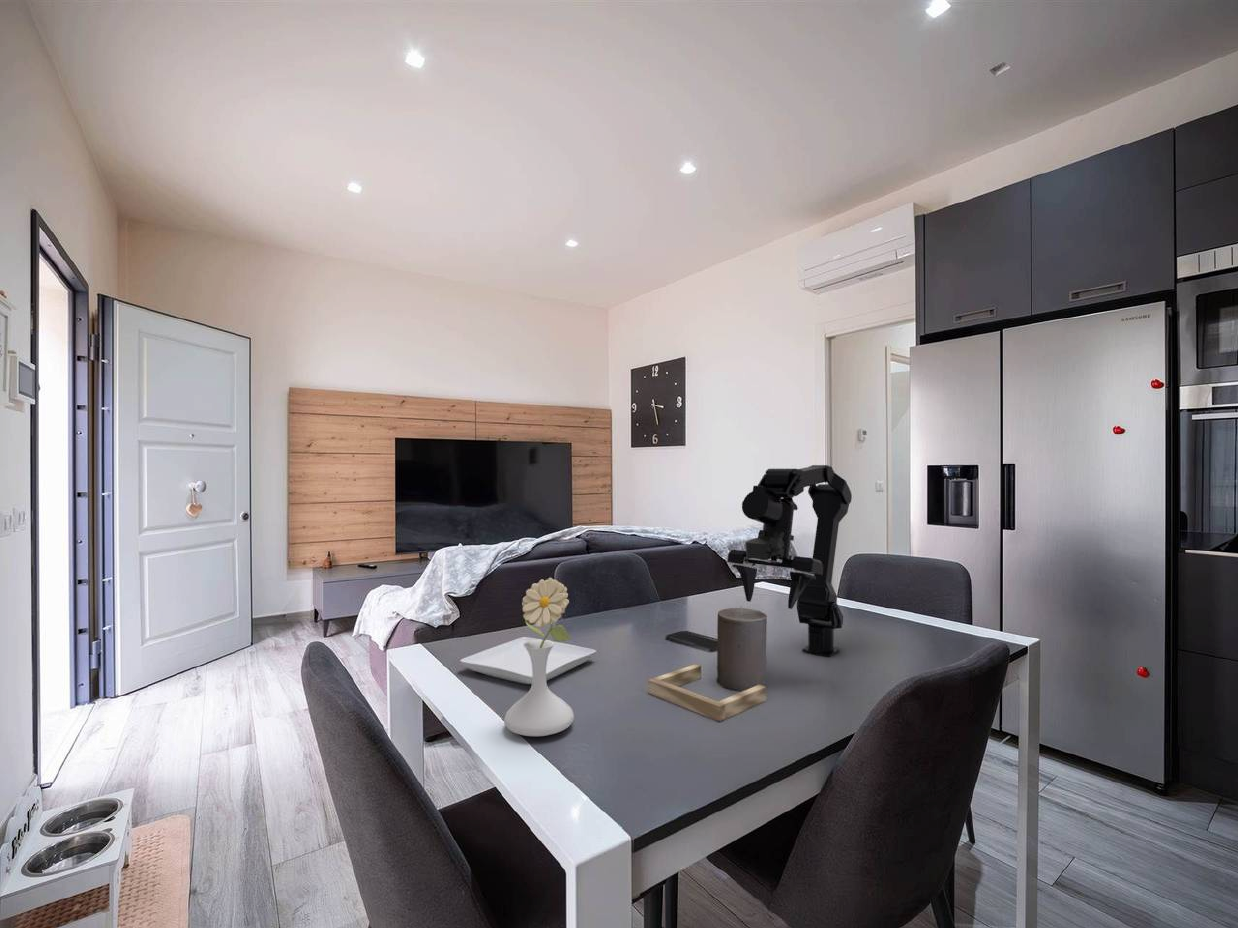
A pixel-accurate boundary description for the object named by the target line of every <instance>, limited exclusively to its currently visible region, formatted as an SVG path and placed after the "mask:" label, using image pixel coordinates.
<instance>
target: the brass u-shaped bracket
mask: <svg viewBox="0 0 1238 928" xmlns="http://www.w3.org/2000/svg"><path fill="white" fill-rule="evenodd" d="M699 679H702V665H701V664H696V663H694V664H692V665H689V666H686V667H683V668H679V669H676V670H674V671H671V672H667V673H665V674H662V675H658V676H655V677H652V678H650V679H647V680H648V681H647V683H648V685H647V686H648V687H647V688H648V691H647V694H650V695H653V697H656V698H659V699H662V700H664V701H667V702H670V703H671V704H673V705H676V706H678V707H679V706H680V707H683V708H684V709H688V710H690V711H691V712H694V713H697V714H699V715H702V716H704V717H707V718H709V719H712V720H715V721H717V722H721V721H724V720H727V719H729V718H730V717H732V716H735V715H737V714H739V713H741V712H744V711H747V710H748V709H752V708H753V707H755V706H757V705H760V704H762V703H764V702H766V701H767V686H762V685H757V686H755V687H752V688H750V689H747V690H745V691H739V692H738V693H736V694H733V695H731V696H727V697H726V698H723V699H721V700H718V701H717V700H714V699H711V698H709V697H706V696H704V695H701V694H698V693H695V692H692V691H690V690H688V689H685V688H682V687H681V686H684V685H686V684H689V683H691V682H694V681H697V680H699Z"/></svg>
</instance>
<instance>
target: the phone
mask: <svg viewBox="0 0 1238 928" xmlns="http://www.w3.org/2000/svg"><path fill="white" fill-rule="evenodd" d="M665 640H666V641H669V642H672V643H676V644H679V645H682V646H684V647H685V646H686V647H688V648H693V649H696V650H699V649H700V651H702V650H703V652H705V653H706V652H707V653H715V651H716V652H717V638H716V637H715V638H714V637H710V636H707V635H704V634H699V633H695V632H692V631H690V630H689V631H688V630H681V631H676V632H674V633H670V634H666V635H665Z"/></svg>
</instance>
